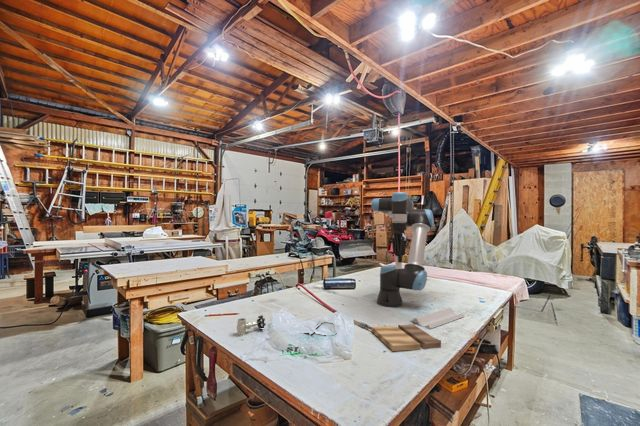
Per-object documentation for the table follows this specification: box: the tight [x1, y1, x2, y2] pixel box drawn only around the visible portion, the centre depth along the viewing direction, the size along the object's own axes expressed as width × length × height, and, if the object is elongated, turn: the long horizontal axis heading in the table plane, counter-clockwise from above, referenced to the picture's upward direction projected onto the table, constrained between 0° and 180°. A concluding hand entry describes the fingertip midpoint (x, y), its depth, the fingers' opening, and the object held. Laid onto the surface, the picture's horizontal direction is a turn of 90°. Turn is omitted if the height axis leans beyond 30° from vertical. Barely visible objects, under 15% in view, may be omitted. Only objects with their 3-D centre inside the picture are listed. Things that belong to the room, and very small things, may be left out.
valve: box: [236, 314, 267, 337], centre depth 127 cm, size 7×7×12 cm
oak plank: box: [370, 325, 421, 352], centre depth 122 cm, size 20×12×2 cm, turn 14°
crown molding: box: [409, 307, 465, 330], centre depth 149 cm, size 31×12×4 cm, turn 126°
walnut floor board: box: [397, 323, 442, 350], centre depth 124 cm, size 20×8×2 cm, turn 14°
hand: (398, 268), depth 146 cm, fingers closed
